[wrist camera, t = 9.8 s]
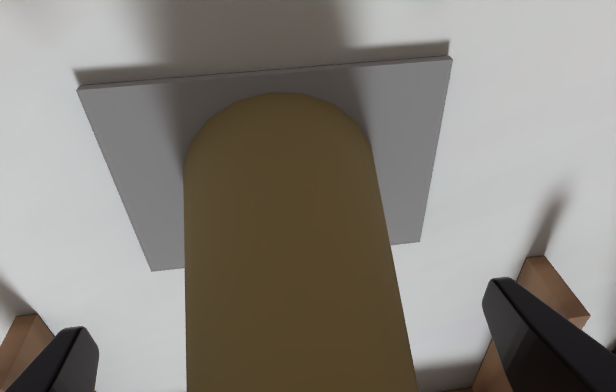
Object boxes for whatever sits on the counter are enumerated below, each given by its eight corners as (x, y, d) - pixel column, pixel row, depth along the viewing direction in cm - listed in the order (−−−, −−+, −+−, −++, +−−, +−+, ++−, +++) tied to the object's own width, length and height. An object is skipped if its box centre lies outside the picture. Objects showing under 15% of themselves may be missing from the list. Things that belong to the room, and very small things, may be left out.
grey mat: (448, 55, 11) (453, 59, 11) (417, 236, 16) (419, 242, 16) (79, 85, 11) (76, 90, 11) (152, 265, 15) (151, 271, 15)
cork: (343, 255, 16) (458, 726, 7) (177, 239, 14) (68, 808, 6) (403, 112, 12) (784, 711, 3) (190, 72, 11) (-51, 926, 2)
